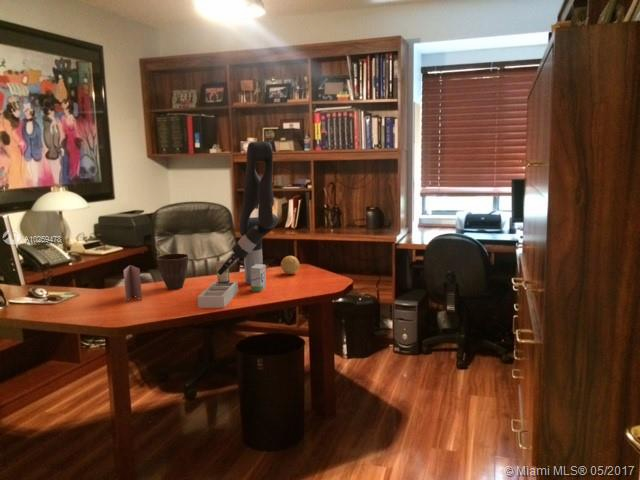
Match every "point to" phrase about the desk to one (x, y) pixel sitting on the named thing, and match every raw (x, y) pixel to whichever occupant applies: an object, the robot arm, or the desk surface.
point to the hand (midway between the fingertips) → (220, 272)
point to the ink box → (258, 277)
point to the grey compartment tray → (217, 295)
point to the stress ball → (290, 264)
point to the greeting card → (132, 282)
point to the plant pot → (173, 270)
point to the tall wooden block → (225, 276)
